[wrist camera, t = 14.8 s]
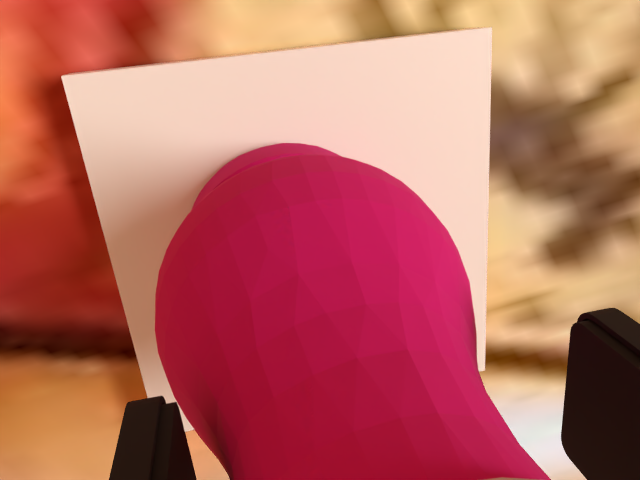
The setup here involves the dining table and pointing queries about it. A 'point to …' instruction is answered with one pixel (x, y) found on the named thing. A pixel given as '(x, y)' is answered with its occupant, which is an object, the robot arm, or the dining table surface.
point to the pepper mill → (326, 328)
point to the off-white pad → (283, 127)
